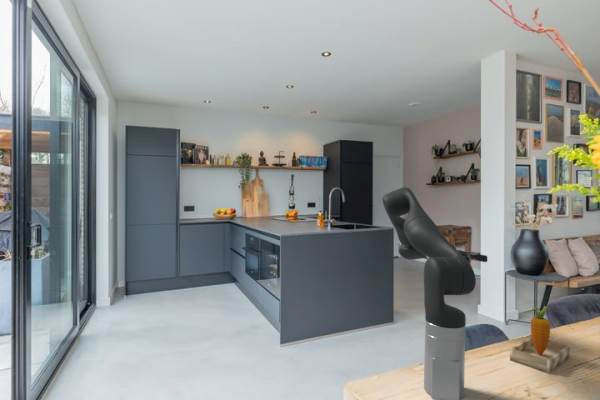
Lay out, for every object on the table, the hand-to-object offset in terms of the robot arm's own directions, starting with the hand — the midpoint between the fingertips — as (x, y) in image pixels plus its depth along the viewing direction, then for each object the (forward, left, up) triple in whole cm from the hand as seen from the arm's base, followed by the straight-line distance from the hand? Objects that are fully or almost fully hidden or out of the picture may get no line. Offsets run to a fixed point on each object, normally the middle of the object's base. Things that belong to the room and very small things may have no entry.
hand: (477, 259), depth 117 cm
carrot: (-6, -17, -27) cm, 32 cm away
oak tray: (-7, -17, -28) cm, 33 cm away
